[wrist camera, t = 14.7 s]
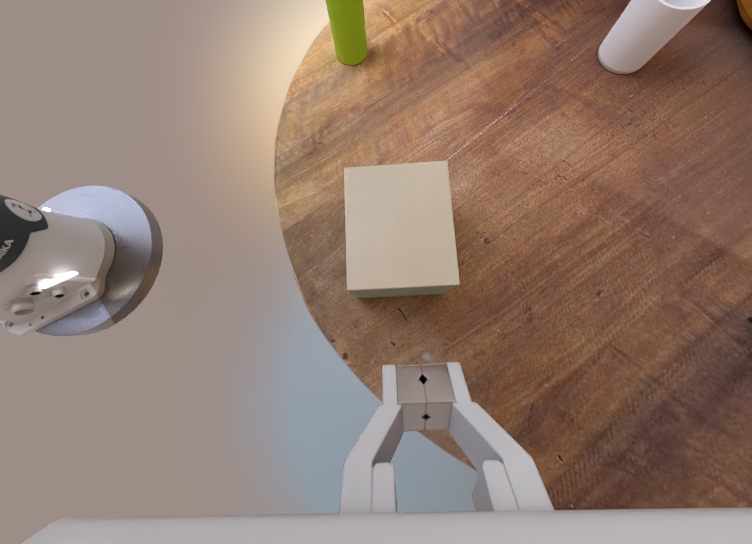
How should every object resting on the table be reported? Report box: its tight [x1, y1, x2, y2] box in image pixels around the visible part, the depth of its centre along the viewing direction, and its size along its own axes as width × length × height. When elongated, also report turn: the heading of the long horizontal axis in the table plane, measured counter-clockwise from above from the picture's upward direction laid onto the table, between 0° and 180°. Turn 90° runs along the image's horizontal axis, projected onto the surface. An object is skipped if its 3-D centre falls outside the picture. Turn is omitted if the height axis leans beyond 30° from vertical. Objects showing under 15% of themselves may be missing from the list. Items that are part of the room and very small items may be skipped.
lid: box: [344, 161, 460, 291], centre depth 34 cm, size 16×14×1 cm
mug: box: [598, 0, 711, 74], centre depth 43 cm, size 11×9×10 cm
